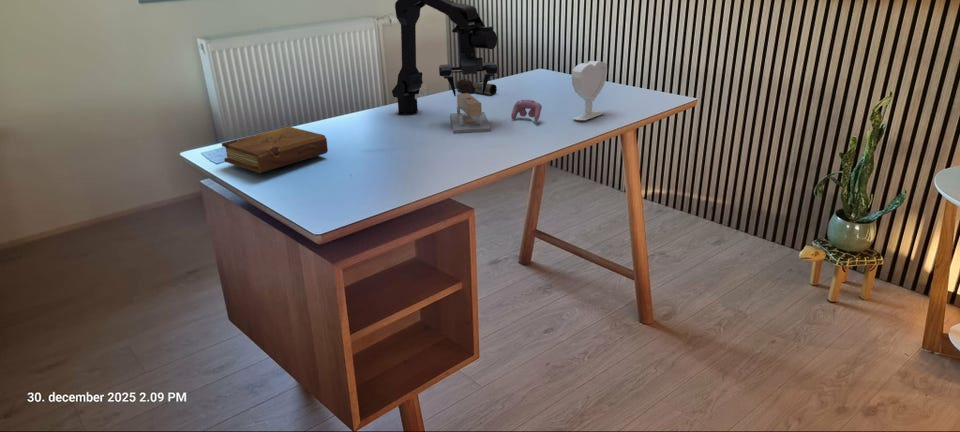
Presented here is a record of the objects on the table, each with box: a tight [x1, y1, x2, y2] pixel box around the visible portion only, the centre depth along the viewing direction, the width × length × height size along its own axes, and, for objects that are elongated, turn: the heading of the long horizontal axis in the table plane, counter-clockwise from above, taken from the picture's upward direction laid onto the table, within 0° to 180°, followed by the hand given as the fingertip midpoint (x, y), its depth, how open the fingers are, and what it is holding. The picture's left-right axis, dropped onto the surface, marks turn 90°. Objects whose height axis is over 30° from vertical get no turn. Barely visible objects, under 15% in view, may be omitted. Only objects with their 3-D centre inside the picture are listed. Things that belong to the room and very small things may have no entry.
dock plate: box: [449, 111, 492, 134], centre depth 225 cm, size 12×22×1 cm, turn 5°
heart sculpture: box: [571, 60, 608, 121], centre depth 226 cm, size 16×5×18 cm, turn 137°
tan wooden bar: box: [456, 93, 483, 117], centre depth 222 cm, size 4×16×4 cm, turn 16°
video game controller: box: [510, 99, 543, 122], centre depth 226 cm, size 10×5×7 cm, turn 65°
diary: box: [221, 125, 329, 174], centre depth 197 cm, size 23×19×6 cm
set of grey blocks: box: [456, 106, 483, 126], centre depth 224 cm, size 8×13×4 cm, turn 5°
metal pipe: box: [455, 78, 498, 96], centre depth 263 cm, size 18×7×6 cm, turn 53°
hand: (468, 95), depth 221 cm, fingers open, 9 cm apart
